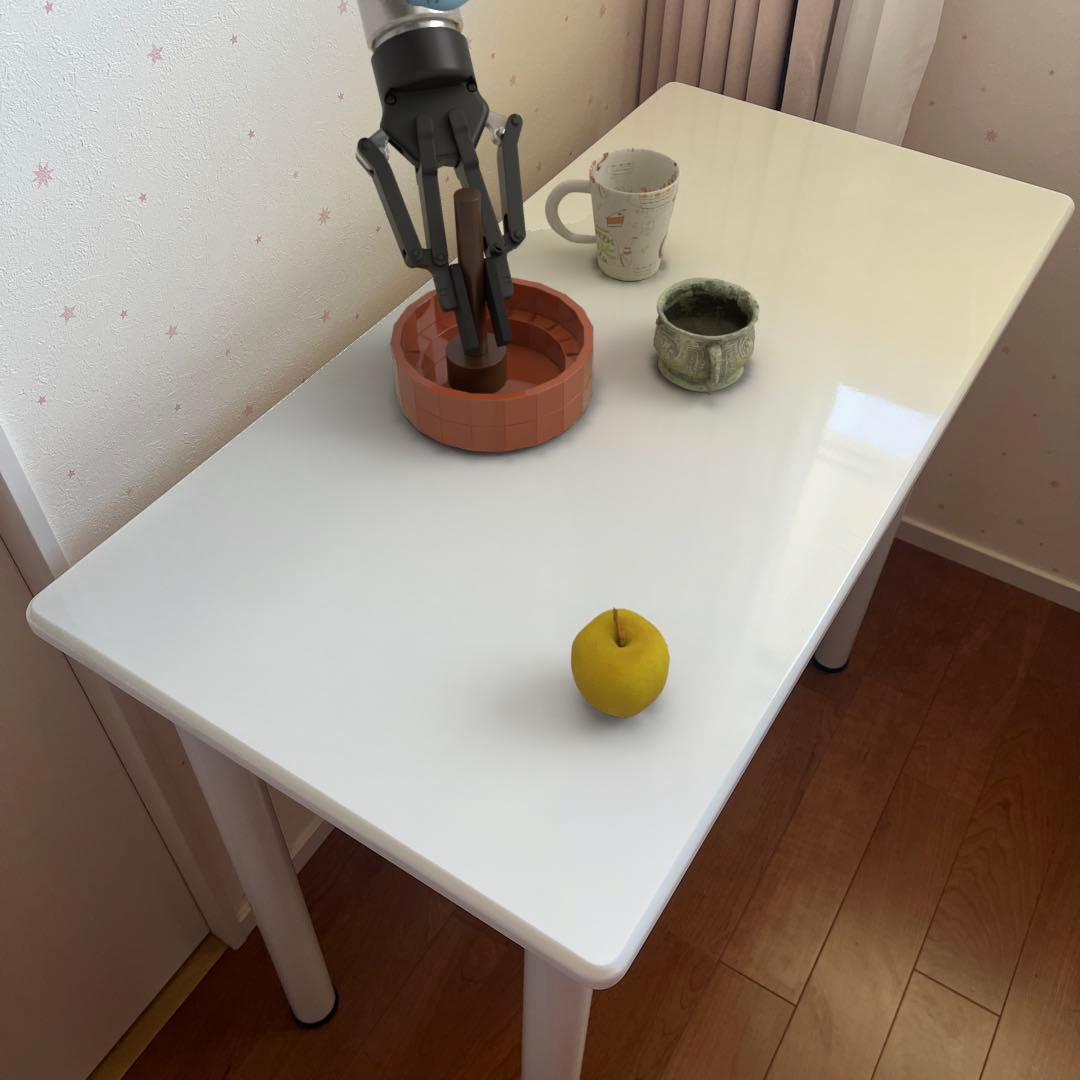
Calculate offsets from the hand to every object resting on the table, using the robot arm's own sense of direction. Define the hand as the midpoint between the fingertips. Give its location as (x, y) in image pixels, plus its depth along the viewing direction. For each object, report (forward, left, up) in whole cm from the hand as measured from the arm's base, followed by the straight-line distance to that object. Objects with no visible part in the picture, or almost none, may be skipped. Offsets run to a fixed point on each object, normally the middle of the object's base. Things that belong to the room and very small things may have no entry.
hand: (488, 346), depth 86 cm
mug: (+10, +25, -9) cm, 28 cm away
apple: (+10, -27, -9) cm, 30 cm away
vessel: (+18, +9, -9) cm, 22 cm away
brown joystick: (-1, +4, -6) cm, 7 cm away
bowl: (0, +5, -8) cm, 10 cm away
